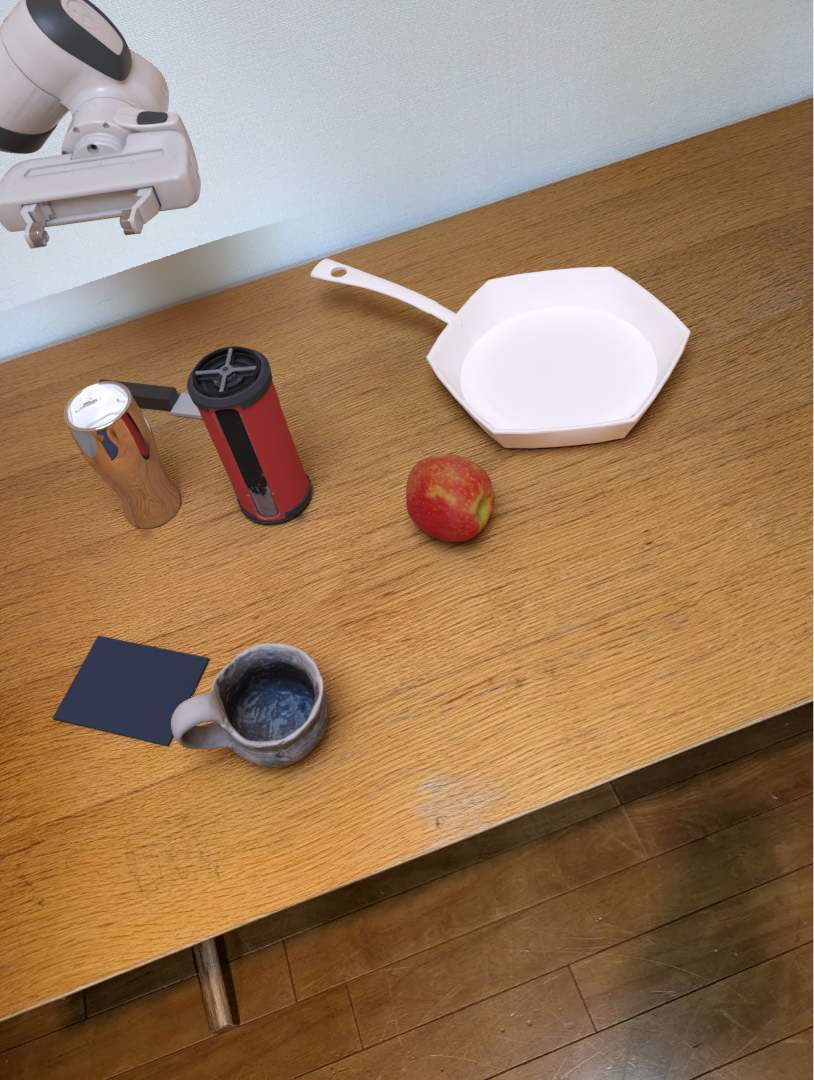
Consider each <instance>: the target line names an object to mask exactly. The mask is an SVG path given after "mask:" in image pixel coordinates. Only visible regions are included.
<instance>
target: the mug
mask: <svg viewBox="0 0 814 1080" xmlns="http://www.w3.org/2000/svg"><path fill="white" fill-rule="evenodd" d="M328 720H329V701H328V696H327V692H326V688H325V682H324V679H323V675H322V672H321V670H320V668H319V665H318V663H317V661H315V659H314V658H313V657H312V656H310V655H309V654H308V653H307V652H306V651H304V650H303V649H302V648H299V647H295V646H292V645H290V644H286V643H278V642H274V643H271V642H268V643H267V642H263V643H259V644H256V645H253V646H250V647H248V648H247V649H245V650H243V651H242V652H239V654H237V655H236V656H235V657H234V658H233V659H232V660H231V661H230V662H229V663H227V664H226V665H225V666H224V667H223V668H222V669H220V671H219V672H218V673H217V675H215V678H214V679H213V681H212V683H211V686H210V691H208V692H204V693H203V692H202V693H200V694H198V695H193V696H192V698H190V699H188V700H186V701H184V702H182V703H181V704H180V705H179V706H178V707H177V708H176V710H175V711H174V713H173V715H172V719H171V729H172V733H173V738H174V739H175V740H176V742H177V744H179V745H180V746H181V747H183V748H186V749H188V750H215V749H227V748H228V749H230V750H231V751H233V752H234V753H235V754H236V755H237V756H238V757H240V758H241V759H243V760H245V761H246V762H249V763H250V764H252V765H255V766H260V767H265V768H283V767H287V766H290V765H293V764H295V763H298V762H299V761H301V760H302V759H304V758H305V757H306V756H307V755H309V753H311V752H312V751H313V750H314V749H315V748H316V747H317V745H318V744H319V743H320V741H321V740H322V738H323V737H324V734H325V732H326V728H327V726H328V722H329V721H328ZM203 723H207V724H203ZM200 724H203V725H200Z"/></svg>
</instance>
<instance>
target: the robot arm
mask: <svg viewBox="0 0 814 1080" xmlns="http://www.w3.org/2000/svg"><path fill="white" fill-rule="evenodd" d="M126 41H127V40H126V39H125V36H124V35H123V34H122V33H121V31H120V30H119V29H118V27H117V26H116V25H115V24H114V22H113V21H112V20H111V18H109V17H108V16H107V14H106V13H104V11H102V10H101V9H100V8H99V7H97V6H96V4H94V3H93V2H92V1H90V0H19V1H18V3H16V5H15V6H14V7H13V8H12V9H11V11H10V12H9V13H8V15H7V16H6V17H5V18H4V20H3V21H2V24H1V25H0V152H3V153H8V154H14V155H15V154H16V155H28V154H33V153H36V152H38V151H39V150H41V149H42V148H43V146H44V145H45V144H46V142H47V140H49V138H50V137H51V135H52V134H53V133H54V131H55V130H56V128H57V127H58V124H59V123H60V122H61V121H62V120H63V119H64V118H65V117H66V115H67V114H68V113H69V112H70V114H71V117H72V118H71V120H70V123H69V124H68V128H67V131H66V133H65V135H64V138H63V140H62V143H61V154H58V155H52V156H45V157H38V158H30V159H26V160H23V161H19V162H17V163H15V164H13V165H12V166H11V167H10V168H9V169H8V170H7V171H6V172H5V174H4V175H3V177H2V178H1V179H0V225H2V227H3V228H4V229H6V230H7V231H8V232H10V233H17V232H22V231H23V237H24V239H25V241H26V243H27V245H28V246H29V248H30V249H38V248H44V247H47V246H48V242H49V240H50V238H51V237H50V235H49V233H48V231H47V230H46V229H45V228H52V227H58V226H67V225H72V224H80V223H81V224H82V223H87V222H94V221H102V220H108V219H115V218H119V225H120V227H121V228H122V229H123V234H124V236H131V235H141V234H142V232H143V229H144V225H146V224H147V223H148V222H150V221H151V220H152V219H153V218H155V217H156V216H157V215H158V214H159V212H166V211H173V210H174V211H175V210H181V209H187V208H190V207H192V206H193V205H194V204H195V203H197V202H198V201H199V199H200V196H201V195H200V194H201V189H202V188H201V185H202V183H201V176H200V173H199V165H198V160H197V157H196V153H195V150H194V146H193V143H192V140H191V138H190V135H189V133H188V131H187V128H186V126H185V124H184V121H183V120H182V118H181V116H180V114H179V113H178V112H174V111H169V107H170V106H169V105H170V90H169V85H168V86H167V84H168V82H167V83H166V81H165V78H164V77H163V75H162V73H161V72H160V71H159V70H158V68H157V67H155V66H154V65H153V64H152V63H151V62H149V61H148V60H146V59H145V58H144V57H142V56H141V55H139V54H138V53H135V52H134V51H132V50H131V49H129V47H128V45H127V43H126Z"/></svg>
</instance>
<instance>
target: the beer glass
mask: <svg viewBox="0 0 814 1080" xmlns="http://www.w3.org/2000/svg"><path fill="white" fill-rule="evenodd" d="M114 381H115V380H112V381H104V382H99V381H98V382H94V383H92V384H89V385H87V386H84V387H83V388H81V389H80V390H78V391H77V392H76V393H75V394H73V395H72V396H71V398H70V399H68V401H67V403H66V405H65V406H64V409H63V420H64V422H65V424H66V425H67V427H68V430H69V432H70V433H71V436H72V438H73V440H74V442H75V444H76V446H77V448H78V450H79V452H80V453H81V455H82V456H83V457H84V459H85V461H86V463H88V465H89V466H90V468H91V469H93V471H94V472H95V473H96V474H97V475H98V476H99V478H101V479H102V481H103V482H104V483H105V484H106V485H107V486H108V487H109V488H110V489H111V490H112V491H113V492H114V493H115V495H116V496H117V498H118V499H119V501H120V504H121V508H122V511H123V513H124V516H125V520H126V521H127V522H128V523H129V524H130V525H131V526H133V527H135V528H139V529H153V528H156V527H159V526H162V525H164V524H166V523H167V522H169V521H170V520H171V519H172V518H173V517H174V516H175V515H176V514H177V512H178V511H179V509H180V507H181V503H182V497H181V493H180V491H179V490H178V488H177V487H176V486H175V484H173V482H172V481H171V480H170V479H169V477H168V476H167V474H166V473H165V471H164V468H163V465H162V460H161V456H160V453H159V449H158V445H157V442H156V441H157V440H156V438H155V436H154V432H153V430H152V428H151V425H150V423H149V421H148V419H147V417H146V416H145V414H144V412H143V410H142V408H140V407H139V405H138V404H137V402H136V401H135V399H134V398H133V396H132V395H131V393H130V391H129V389H128V388H127V387H126V386H125V385H123V384H121V383H118V382H114Z"/></svg>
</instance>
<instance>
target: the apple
mask: <svg viewBox="0 0 814 1080" xmlns="http://www.w3.org/2000/svg"><path fill="white" fill-rule="evenodd" d="M405 491H406V492H405V500H406V501H405V502H406V510H407V513H408V516H409V518H410V519H411V521H412V522H413V524H414V525H416V526H417V527H418V529H420V530H421V531H422V532H424V533H426V534H427V535H428V536H431V537H432V538H435V539H437V540H440V541H444V542H450V543H451V542H453V543H456V542H466V541H469V540H472V539H474V538H475V537H477V536H478V535H479V534H480V533H481V532H482V530H484V528H485V527H486V525H487V523H488V522H489V520H490V518H491V516H492V513H493V511H494V506H495V505H494V504H495V491H494V489H493V484H492V480H491V478H490V476H489V474H488V473H487V471H486V470H485V469H483V467H481V465H479V463H476V462H475V461H473V460H471V459H468V458H466V457H464V456H461V455H457V454H454V453H453V454H452V453H442V454H434V455H430V456H428V457H425V458H423V459H422V460H420V461H418V462H417V463H416V464H415V465H413V466H412V468H411V470H410V472H409V474H408V477H407V481H406V488H405Z"/></svg>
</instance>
